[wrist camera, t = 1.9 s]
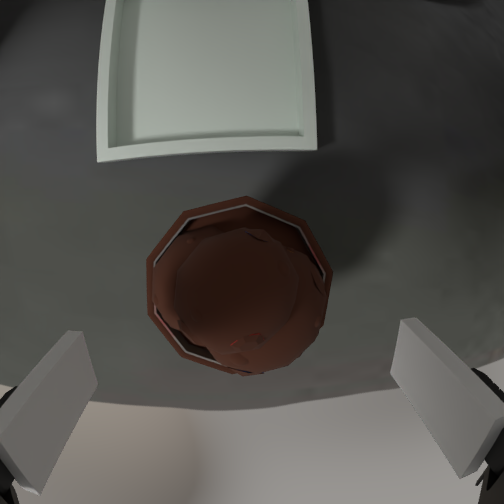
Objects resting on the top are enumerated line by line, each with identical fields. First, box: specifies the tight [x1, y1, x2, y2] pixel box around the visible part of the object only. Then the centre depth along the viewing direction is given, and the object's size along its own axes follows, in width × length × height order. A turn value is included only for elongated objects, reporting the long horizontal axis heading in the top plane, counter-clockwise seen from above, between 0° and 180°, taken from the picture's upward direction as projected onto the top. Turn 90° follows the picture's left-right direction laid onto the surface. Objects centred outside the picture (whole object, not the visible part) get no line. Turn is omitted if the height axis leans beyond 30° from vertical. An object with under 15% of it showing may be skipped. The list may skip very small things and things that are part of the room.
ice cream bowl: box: [146, 196, 333, 376], centre depth 20 cm, size 11×11×15 cm
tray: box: [96, 0, 317, 162], centre depth 22 cm, size 17×17×2 cm
